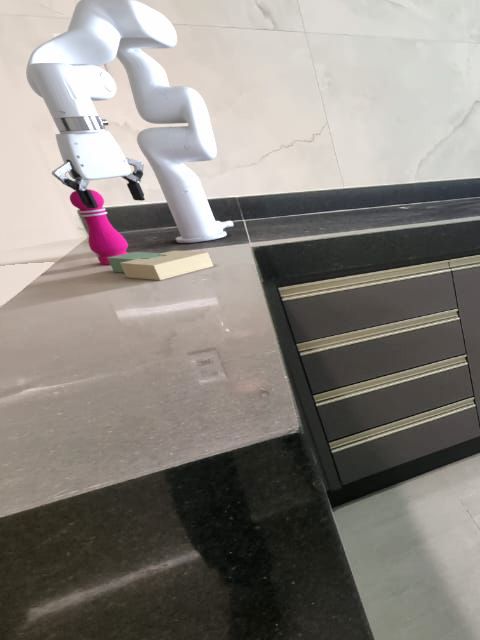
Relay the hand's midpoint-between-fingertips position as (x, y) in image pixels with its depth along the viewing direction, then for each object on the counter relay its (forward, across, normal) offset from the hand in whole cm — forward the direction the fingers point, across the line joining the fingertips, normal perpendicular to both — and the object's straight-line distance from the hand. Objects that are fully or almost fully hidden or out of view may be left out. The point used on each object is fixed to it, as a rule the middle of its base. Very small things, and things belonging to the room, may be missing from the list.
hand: (116, 203), depth 126 cm
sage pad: (+15, +2, +3) cm, 16 cm away
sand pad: (+15, +2, +13) cm, 20 cm away
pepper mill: (+16, -2, -15) cm, 22 cm away
